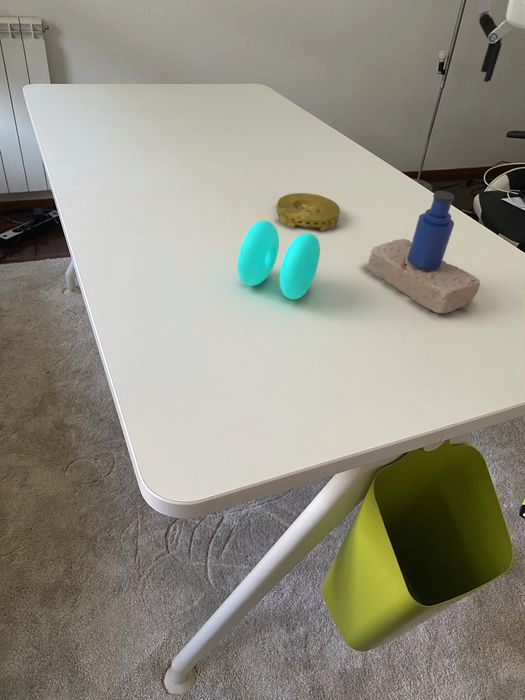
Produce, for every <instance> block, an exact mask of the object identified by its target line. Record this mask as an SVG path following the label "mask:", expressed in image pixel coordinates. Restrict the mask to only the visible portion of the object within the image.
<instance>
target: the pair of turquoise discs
mask: <svg viewBox="0 0 525 700" xmlns="http://www.w3.org/2000/svg"><path fill="white" fill-rule="evenodd" d="M279 248H280V237H279V232H278V230H277V228H276V226H275V224H273V223H272V222H271V221H269V220H259V221H256V222H255V223H254V224H252V225H251V226H250V228H248V231H246V234H245V236H244V237H243V240H242V243H241V245H240V248H239V252H238V257H237V272H238V276H239V278H240V281H241V282H242V283H244V285H246V286H251V287H254V286H257V285H260V284H262V283H263V282H264V281H266V279H268V277H269V276H270V274H271V272H273V271H272V270H273V269H274V266H275V264H276V262H277V258H278V254H279ZM320 254H321V245H320V241H319V239H318V237H317V236H316V235H315V234H313V233H311V232H304V233H301V234H299V235H297V236H296V237H295V238H294V239H293V240H292V241H291V242H290V244H289V245H288V247H287V249H286V251H285V253H284V256H283V258H282V262H281V265H280V270H279V286H280V287H279V288H280V290H281V292H282V294H283V295H284V296H285V297H286V298H287V299H290V300H298V299H300V298H302V297H303V296H304V295H306V293H307V292H308V291H309V288H310V286H311V285H312V283H313V281H314V278H315V276H316V273H317V269H318V266H319V261H320V256H321V255H320Z"/></svg>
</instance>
